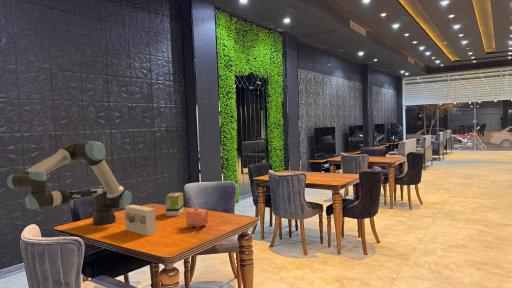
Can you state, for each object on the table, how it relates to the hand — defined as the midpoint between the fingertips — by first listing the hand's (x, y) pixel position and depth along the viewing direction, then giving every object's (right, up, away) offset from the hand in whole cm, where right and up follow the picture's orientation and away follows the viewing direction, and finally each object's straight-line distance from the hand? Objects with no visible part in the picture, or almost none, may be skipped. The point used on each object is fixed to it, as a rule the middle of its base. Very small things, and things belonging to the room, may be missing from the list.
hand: (101, 190), depth 213 cm
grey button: (+16, -20, +6) cm, 27 cm away
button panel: (+20, -27, +11) cm, 35 cm away
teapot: (+55, -25, +17) cm, 63 cm away
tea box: (+31, -25, +56) cm, 69 cm away
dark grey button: (+24, -20, +3) cm, 31 cm away
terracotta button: (+11, -20, +13) cm, 27 cm away
